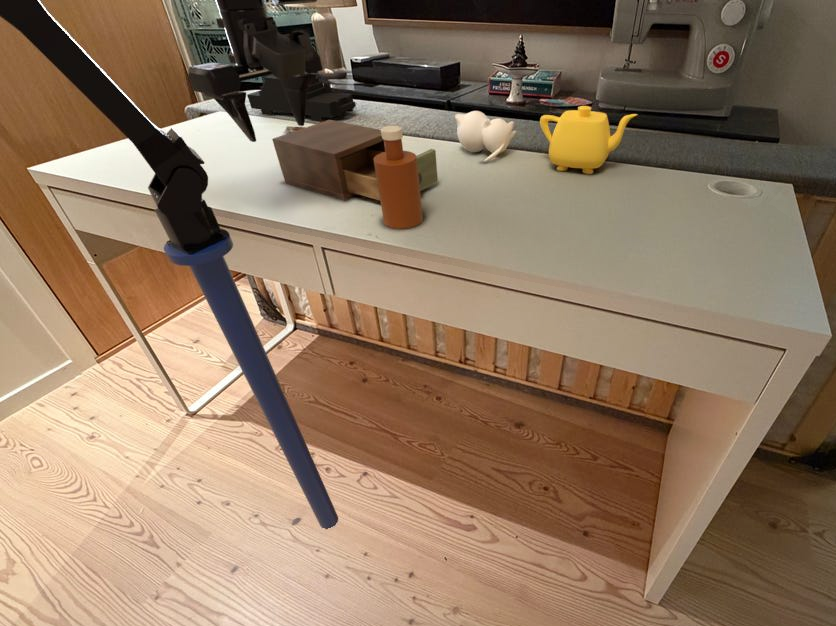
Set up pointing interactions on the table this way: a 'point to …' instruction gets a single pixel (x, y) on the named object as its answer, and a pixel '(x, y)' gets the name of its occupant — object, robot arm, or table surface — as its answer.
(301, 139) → the cabinet
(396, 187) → the bottle
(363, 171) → the drawer
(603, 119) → the teapot
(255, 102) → the black angular piece
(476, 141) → the cat figurine
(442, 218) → the table surface
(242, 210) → the table surface
